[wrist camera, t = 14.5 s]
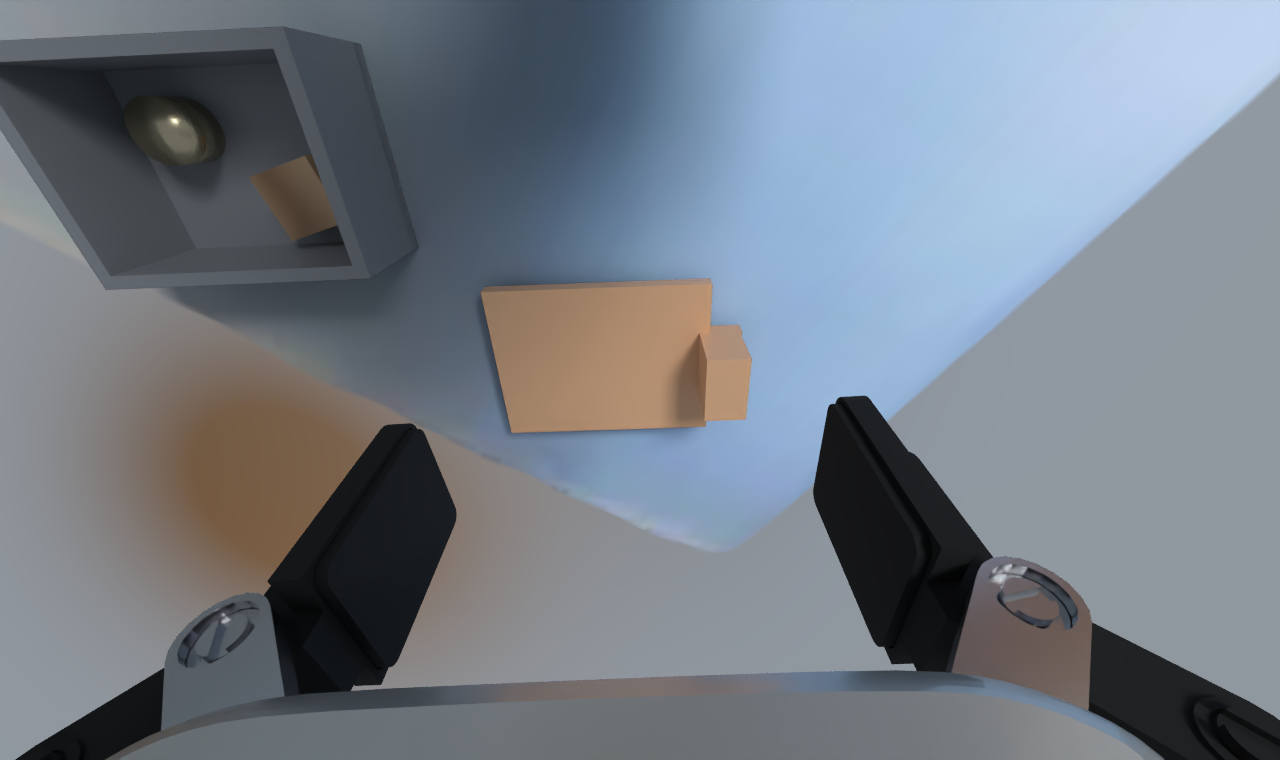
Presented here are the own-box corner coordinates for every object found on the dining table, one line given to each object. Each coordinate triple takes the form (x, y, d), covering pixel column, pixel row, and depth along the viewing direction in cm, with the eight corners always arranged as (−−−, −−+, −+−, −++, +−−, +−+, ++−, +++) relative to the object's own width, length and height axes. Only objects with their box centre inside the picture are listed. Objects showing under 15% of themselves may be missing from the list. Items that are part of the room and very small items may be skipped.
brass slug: (206, 94, 28) (172, 93, 26) (236, 160, 30) (206, 163, 28) (148, 98, 28) (109, 97, 26) (181, 163, 30) (148, 168, 28)
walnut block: (328, 152, 30) (304, 155, 27) (365, 214, 31) (345, 222, 29) (276, 172, 30) (248, 177, 28) (315, 232, 32) (292, 241, 30)
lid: (739, 272, 35) (760, 305, 29) (729, 409, 41) (744, 459, 36) (489, 281, 35) (460, 316, 29) (517, 416, 42) (498, 467, 36)
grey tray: (360, 44, 27) (282, 26, 21) (418, 247, 33) (370, 278, 27) (94, 56, 28) (-57, 43, 22) (200, 257, 34) (105, 289, 28)
